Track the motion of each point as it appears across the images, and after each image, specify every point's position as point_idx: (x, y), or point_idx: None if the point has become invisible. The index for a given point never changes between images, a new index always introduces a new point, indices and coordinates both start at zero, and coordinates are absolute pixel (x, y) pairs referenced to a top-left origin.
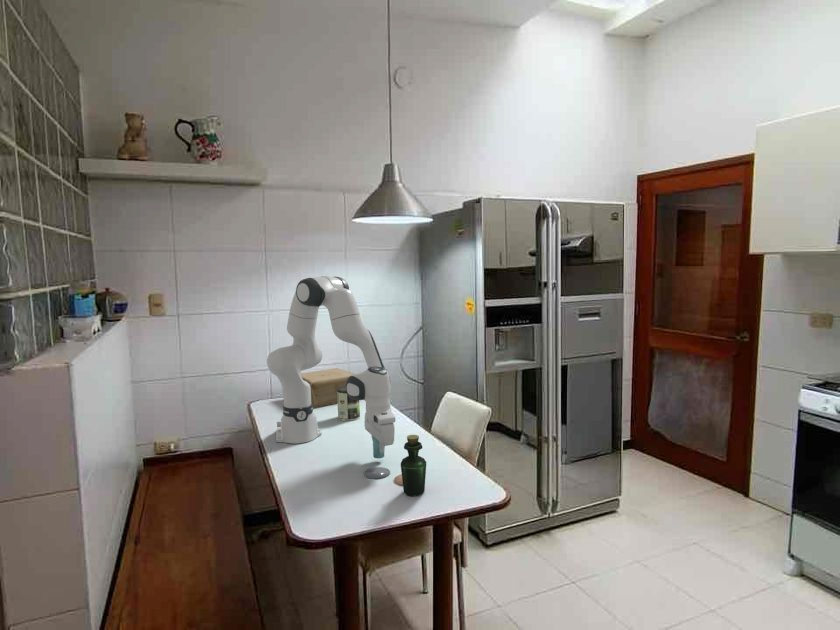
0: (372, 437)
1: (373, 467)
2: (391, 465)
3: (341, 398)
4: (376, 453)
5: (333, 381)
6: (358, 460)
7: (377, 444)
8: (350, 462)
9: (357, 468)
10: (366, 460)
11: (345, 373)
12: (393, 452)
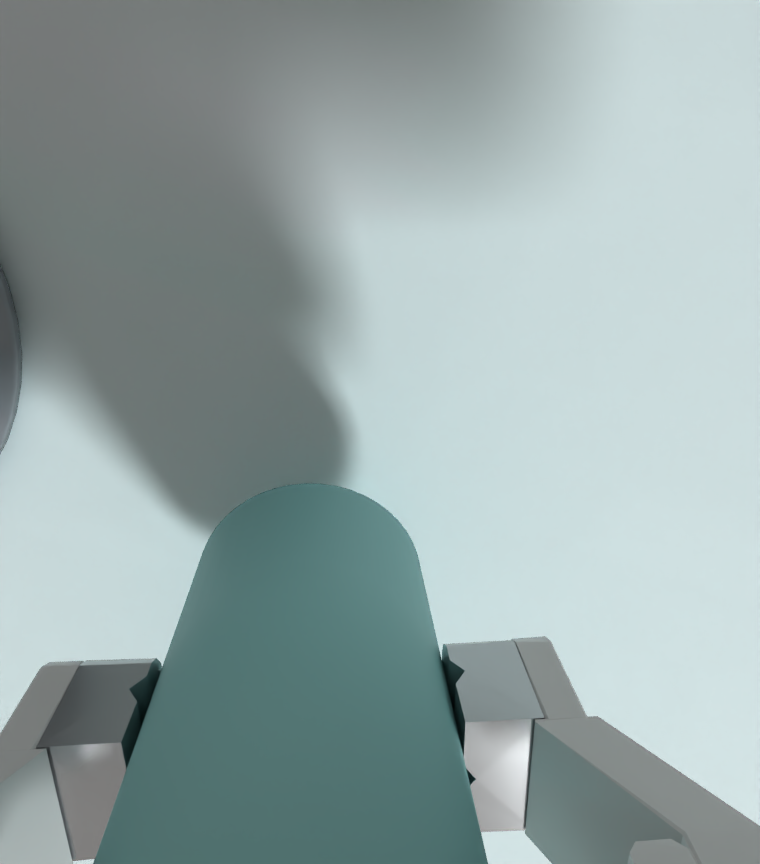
0: (673, 832)
1: (10, 351)
2: (57, 651)
3: None
4: (208, 573)
5: None
6: (549, 214)
7: (128, 783)
8: (542, 13)
9: (152, 41)
10: (466, 355)
11: None
12: None
